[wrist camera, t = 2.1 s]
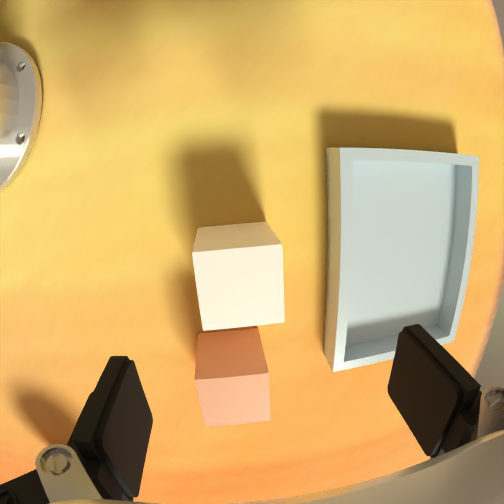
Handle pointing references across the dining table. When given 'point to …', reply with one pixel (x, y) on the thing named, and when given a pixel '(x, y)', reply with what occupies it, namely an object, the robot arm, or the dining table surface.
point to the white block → (238, 275)
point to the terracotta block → (232, 377)
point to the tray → (395, 248)
